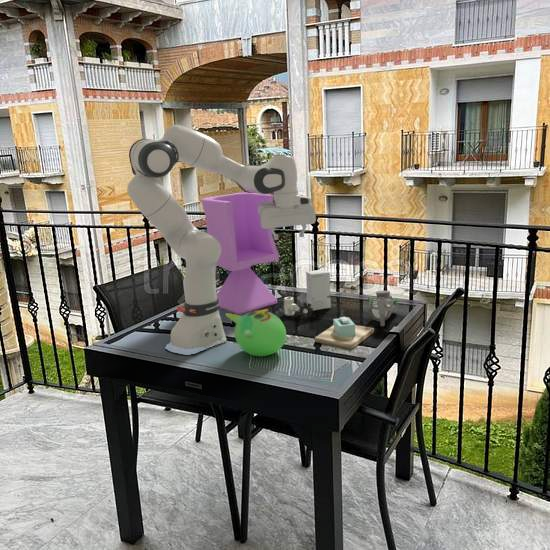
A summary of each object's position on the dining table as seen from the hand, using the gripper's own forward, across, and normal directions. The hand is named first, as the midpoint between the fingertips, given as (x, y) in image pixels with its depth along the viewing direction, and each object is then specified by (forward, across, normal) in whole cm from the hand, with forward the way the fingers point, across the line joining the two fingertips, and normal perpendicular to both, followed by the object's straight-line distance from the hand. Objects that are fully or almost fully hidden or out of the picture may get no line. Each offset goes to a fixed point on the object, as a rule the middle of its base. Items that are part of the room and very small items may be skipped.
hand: (289, 238), depth 195 cm
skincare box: (+31, +12, +9) cm, 35 cm away
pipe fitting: (+32, +32, -10) cm, 46 cm away
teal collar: (+30, +12, -24) cm, 40 cm away
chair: (+31, -16, +25) cm, 43 cm away
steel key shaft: (+30, +13, -24) cm, 40 cm away
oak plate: (+31, +13, -24) cm, 41 cm away
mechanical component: (+31, +28, -18) cm, 46 cm away
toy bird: (+31, -17, -28) cm, 45 cm away
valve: (+32, +1, +2) cm, 32 cm away
